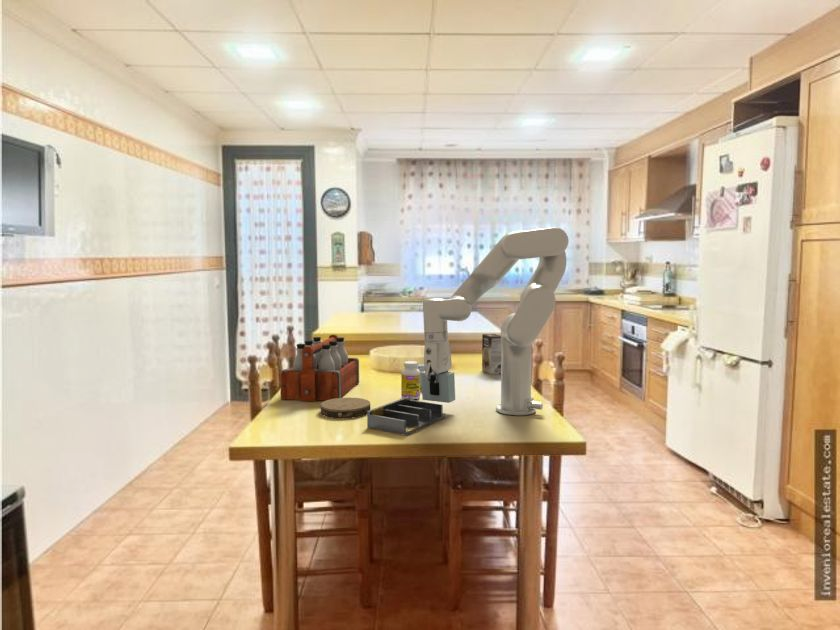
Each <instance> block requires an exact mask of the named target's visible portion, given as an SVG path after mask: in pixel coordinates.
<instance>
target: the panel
mask: <svg viewBox="0 0 840 630" xmlns="http://www.w3.org/2000/svg"><path fill="white" fill-rule="evenodd" d="M432 373H434V372H432ZM432 376H434V378H435V375H432ZM421 380H422V388H421V398H422V401H429V402H438V403H449V404H450V403H452V402H454V401H456V385H455V384H456V383H455V382H456V381H455V372H453V371H452V372H451V371H448V372H443V373H440V374H438V382H437V383H439V395H431V394H430V383H429V382H428V379H427V378H426V377H425V371H424V372H422V373H421Z"/></svg>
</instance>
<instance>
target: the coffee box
mask: <svg viewBox="0 0 840 630" xmlns="http://www.w3.org/2000/svg"><path fill="white" fill-rule="evenodd" d="M481 338H482V339H481V340H482V343H481V344H482V345H481V346H482V348H481V349H482V350H481V351H482V352H481V353H482V355H481V365H482V366H481V367H482V368H481V369H482V370H481V371H483V372H486V373H487V374H489V375H498V374H499V373H501V363H502V346H501V334H497V333H482V337H481ZM499 375H500V374H499Z"/></svg>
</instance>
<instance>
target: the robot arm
mask: <svg viewBox="0 0 840 630" xmlns="http://www.w3.org/2000/svg"><path fill="white" fill-rule="evenodd" d="M568 246H569V236H568V234H567V232H566V231H565V229H562V228H560V227H557V226H556V227H555V226H552V227H545V228H538V229H537V228H536V229H531V230H529V229H528V230H517V231H512V232H508V233H506V234H505V235H504V236H502V237H501V238H500V240H498V242H497V243H496V244H495V245H494V246H493V247H492V249H491V250H490V251H489V253H487V254H486V255H485V257H484V258H483V259H482V261H481V262H480V263H479V264H478V265H477V266H476V267H475V268H474V269H473V271H472V272H471V274H469V276H468V277H467V278H466V279H465V280H464V281H463V282H462V283H461V285H460V286H459V287H458V288H457V290H456V291H454V293H453V294H452V295H451V296H450V297H449V299H448V298H447V299H445V298H441V297H433V298H425V299H424V300H423V302H422V312H423V313H422V315H423V330H424V331H423V337H424V338H423V339H424V351H423V364H424V368H425V377H426V378H427V379H428V382H429V383H430V394H431V395H439V383H437V382H438V374H440V373H443V372H450V370H451V369H452V367H453V365H452V364H453V363H452V353H451V348H450V341H449V338H448V337H449V335H448V332H449V331H448V321H453V322H463V321H466V320H467V319H468V318H470V316H471V314H472V308H473V306H474V305H475V304H476V303H477V302H478V300H480V298H481V297H482V296H484V295H485V294H486V293H487V292H489V290H491V289H493V288H494V287H495V286H497V285H498V284H499V283H500V282H501V281H502V280H503V278H504V277H505V276H506V275H507V274H508V272H510V271H511V269H512V268H513V266H515V265H516V263H517V262H518V261H519V260H526V259H528V260H529V259H536V258H539V262H538V265H537V267H536V268H535V270H534V273H533V274H532V276H531V277H530V279H529V281H528V283H526V286H525V287H524V288H523V290H522V292H521V293H520V296H519V304H520V305H519V306H518V308H517V310H516V311H515V312H514V313H510V314H508V315H506V316H505V318H504V319H503V320H502V322H501V325H500V336H501V346H502V363H501V374H500V377H501V378H500V382H501V383H500V403H499V404H497V405H495V410H496V412H498V413H500V414H504V415H508V416H528V415H532V414H535V413H536V410H540V411H542V410H543V406H544V405H543V402H542V401H540V402H539V401H536V400H535V398H534V396H532V361H533V360H532V358H533V357H532V353H533V352H532V344H533V343H534V342H535V341H536V340H537V339H538V337H539V335H540V333H541V332H542V331H543V328H544V327H545V325H546V324H547V322H548V321H549V320H550V319H549V318H551V316H552V314H553V312H554V309H555V306H556V299H557V298H556V295H555V292H556V290H557V289H558V286H559V285H560V284H561V283H560V282H561V281H562V279H563V277H564V275H565V273H566V269H567V253H566V250H567V248H568ZM432 372H434V373H432ZM432 375H435V378H434V376H432Z"/></svg>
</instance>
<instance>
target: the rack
mask: <svg viewBox="0 0 840 630" xmlns="http://www.w3.org/2000/svg"><path fill="white" fill-rule="evenodd" d="M443 406H444V405H443V404H439V403H433V402H425V401H420V400H410V397H409V396H407V397H405V398H402V397H401V398H399V399H397V400H394V401H391V402H389V403H386V404H384V405H380V406H377V407H375V408H371V409H370V410H369V411H367V415H366V421H367V423H366V425H367V426H366V427H367V429H370V428H371V429H370V430H377V431H382V432H387V433H391V434H395V435H396V434H397V435H401V436H402V435H403V436H405V437H406V436H410V435H412V434H414V433H416V432H418V431H420V430H423V429H425V428H427V427H429V426H431V425H433V424H436V423H438V422H440V421H441V420H444V419H446V414H443V411H444V410H443Z"/></svg>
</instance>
